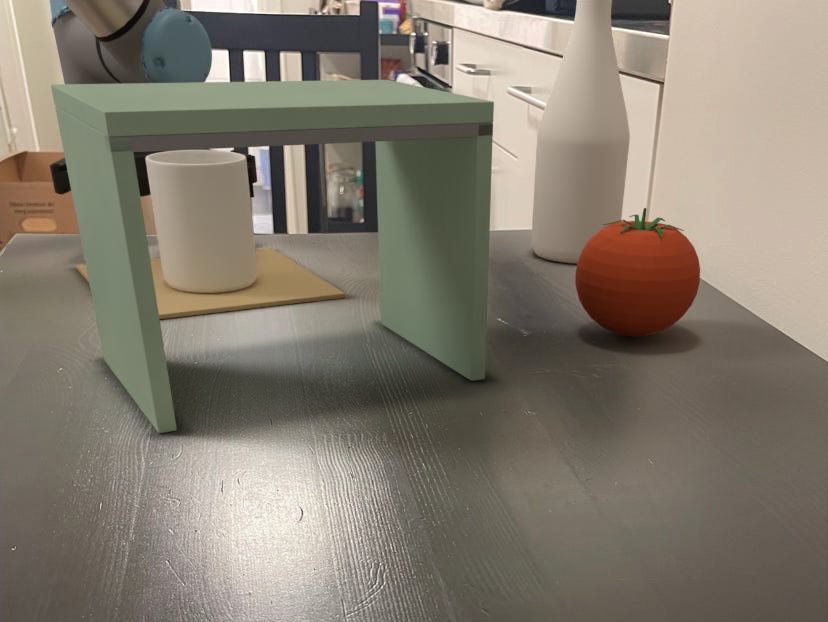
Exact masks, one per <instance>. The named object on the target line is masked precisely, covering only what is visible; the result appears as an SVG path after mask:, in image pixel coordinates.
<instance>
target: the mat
mask: <svg viewBox="0 0 828 622" xmlns="http://www.w3.org/2000/svg"><path fill="white" fill-rule="evenodd" d="M255 252H256V262H257V277H256V280H255V282H254V283H253V284H252V285H250V286H249V287H246V288H243V289H240V290H236V291H230V292H222V293H192V292H185V291H180V290H176V289H174V288H172V287H171V286H169V285H168V284H167V282H166V281H165V279H164V276H163V271H162V266H161V259H160V257H153V258H151V257H150V262H151V268H152V274H153V281H154V287H155V294H156V300H157V306H158V313H159V319H160V320H165V319H173V318H182V317H190V316H198V315H199V316H200V315H208V314H216V313H227V312H234V311H242V310H250V309H258V308H266V307H276V306H285V305H294V304H301V303H310V302H318V301H327V300H335V299H344V298H345V297H346V295H345V294H346V293H345V292H343V291H342V290H340V289H338V288H337V287H335V286H333V284H331V283H329V282H327V281H326V280H324V279H322V278H321V277H319V276H317V275H316V274H314V273H313V272H311V271H310V270H308V269H306V268H304V266H301V265H300V264H298V263H296V262H295V261H293V260H291V259H290V258H289V257H287V256H285V255H284V254H282V253H280V252H279V251H277V250H276V249H274V248H272V247H263V248H262V247H261V248H255ZM75 266H76V270H77V271H78V273H79V274H81V276H82V277H83V278H84V279H85V280H86V281H87V283H89V279H88V274H87V269H86V264H76V265H75Z"/></svg>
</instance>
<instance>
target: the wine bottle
mask: <svg viewBox="0 0 828 622" xmlns="http://www.w3.org/2000/svg"><path fill="white" fill-rule="evenodd" d="M612 3H613V0H576V5H575V15H574V19H573V24H572V27H571V32H570V35H569V38H568V41H567V44H566V47H565V50H564V52H563V56H562V58H561V61H560V65H559V67H558V70H557V73H556V75H555V79H554V81H553V84H552V88H551V90H550V93H549V96H548V99H547V101H546V104H545V107H544V110H543V113H542V115H541V119H540V123H539V126H538V129H537V134H536V149H535V150H536V151H535V167H534V168H535V169H534V170H535V171H534V185H533V186H534V187H533V188H534V189H533V203H532V204H533V205H532V220H531V221H532V222H531V239H530V242H531V248H532V251H533V252H534V254H536V256H538V257H540V258H542V259H545V260H548V261H551V262H558V263H565V264H577V262H578V259H579V257H580V255H581V252H582V250H583V248H584V247H585V245H586V244H587V242H588V241H589V239H590V238H592V237H593V236H594V235H595V234H596V233H597V232H599V231H600V230H601V229H603V228H604V227H606V226H608V225H610V224H608V223H612V222H616V221H620V220H622V217H623V207H624V197H625V187H626V178H627V171H628V169H627V168H628V159H629V150H630V141H631V139H630V138H631V136H630V134H631V133H630V127H629V120H628V119H629V118H628V113H627V108H626V103H625V98H624V92H623V87H622V82H621V77H620V71H619V66H618V59H617V54H616V48H615V43H614V38H613V30H612V27H613V26H612V5H613V4H612ZM604 224H607V225H604Z"/></svg>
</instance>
